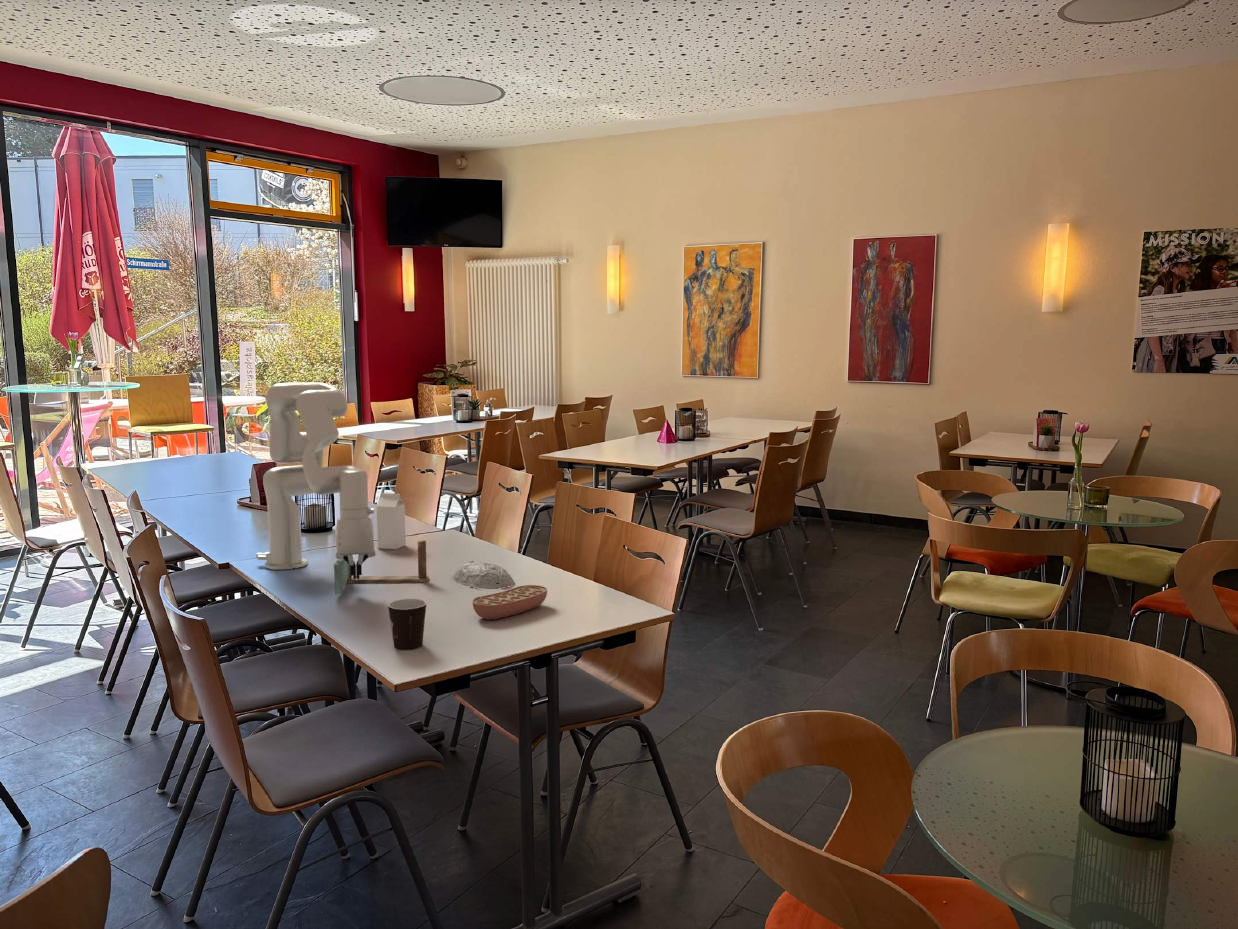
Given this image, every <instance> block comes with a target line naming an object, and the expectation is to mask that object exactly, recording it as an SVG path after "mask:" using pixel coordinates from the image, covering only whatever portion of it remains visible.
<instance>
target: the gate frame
mask: <svg viewBox="0 0 1238 929" xmlns="http://www.w3.org/2000/svg"><path fill="white" fill-rule="evenodd" d="M427 570H428V569H427V540H424V539H423V540H422V539H421V540H418V541H417V574H418V575H373V576H372V575H371V576H370V575H368V576H365V575H364V576H363V575H359V579H357V576H356V579H353V576H351V570H350V564H349V579H348V580H347V582H346V584H383V583H384V584H386V583H387V582H388V583H387V584H389V582H424V583H428V582H429V579H430V578H429V576H430V575H428V574H427Z"/></svg>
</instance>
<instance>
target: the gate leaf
mask: <svg viewBox="0 0 1238 929" xmlns="http://www.w3.org/2000/svg"><path fill="white" fill-rule="evenodd" d="M347 556H348V555H347ZM333 573H334V574H333V576H334V579H333V580H334V595H342V593H343V590H344V588H345V586H346V584H347V583H346V582H347V580H348V579H349V563H347V562H346V561H345V560H343V559H337V558H336V561H335V563H334V564H333Z"/></svg>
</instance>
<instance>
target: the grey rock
mask: <svg viewBox="0 0 1238 929" xmlns="http://www.w3.org/2000/svg"><path fill="white" fill-rule="evenodd" d="M451 579H452V580H453V579H454V580H453V581H454V582H455V581H456V583H458V582H459V583H458V584H460V583H461V584H460V585H462V584H463V585H462V586H465V587H466V586H468V587H467V588H470V587H473V588H472V589H477V590H480V589H499V588H503V587H508V586H511V585H513V586H515V584H514V583H516V582H515V580H514V578H513V577H512V576H511V575H510V573H509V572H507V570H506V569H505V568H504V567H502V566H499V565H496V564H493V563H489V562H486V561H474V560H469V562H466V563H463V564H462V565H460V566H459V567H458V568H457V569H456V570H455V572H454V574H453V575H452V576H451ZM511 587H512V586H511ZM508 588H509V587H508Z"/></svg>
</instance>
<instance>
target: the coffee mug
mask: <svg viewBox="0 0 1238 929" xmlns="http://www.w3.org/2000/svg"><path fill="white" fill-rule="evenodd" d="M387 608H388V615H389V622H390V627H391V628H390V629H391V635H392V642H393V648H394V649H395V650H398V651H413V650H417V649H419V648H421V647H422V646H423V641H424V640H423V639H424V633H425V632H424V630H425V629H424V628H425V624H426V623H425V622H426V612H427V601H425V600H424V599H420V598H401V599H395V600H393V601H390V602H389V603H387Z"/></svg>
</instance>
